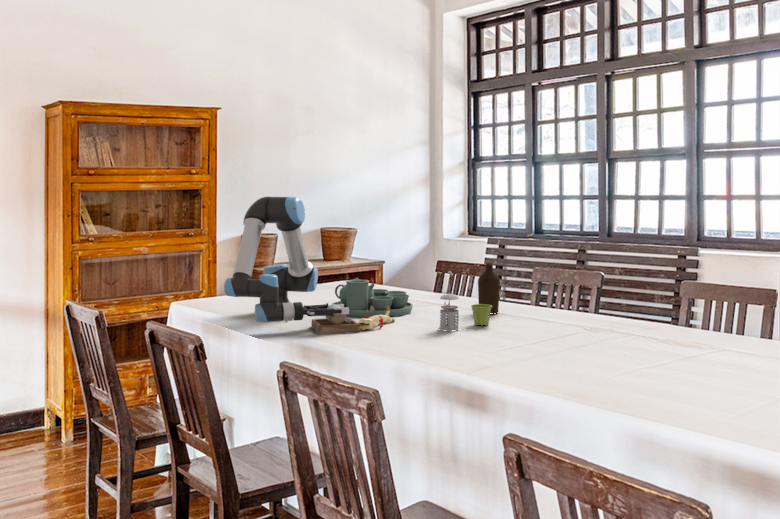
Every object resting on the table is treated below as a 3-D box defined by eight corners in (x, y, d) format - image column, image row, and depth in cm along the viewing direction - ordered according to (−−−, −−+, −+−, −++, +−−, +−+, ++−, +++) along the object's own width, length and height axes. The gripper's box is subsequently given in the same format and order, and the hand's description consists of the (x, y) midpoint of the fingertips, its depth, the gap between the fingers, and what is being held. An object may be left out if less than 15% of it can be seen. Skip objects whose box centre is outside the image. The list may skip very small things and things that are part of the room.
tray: (311, 326, 297) (311, 319, 296) (349, 324, 302) (349, 317, 301) (319, 334, 280) (319, 326, 280) (359, 332, 286) (359, 324, 285)
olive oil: (502, 314, 330) (503, 262, 328) (481, 315, 328) (481, 263, 326) (495, 311, 340) (496, 260, 338) (474, 311, 339) (475, 261, 337)
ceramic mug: (329, 325, 286) (329, 307, 285) (324, 322, 294) (325, 304, 293) (354, 324, 289) (354, 306, 289) (348, 321, 297) (348, 303, 296)
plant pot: (466, 325, 302) (466, 305, 302) (478, 322, 309) (479, 303, 309) (483, 327, 296) (484, 307, 295) (496, 325, 303) (496, 305, 302)
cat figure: (379, 324, 312) (351, 328, 290) (380, 304, 312) (352, 308, 290) (398, 326, 307) (372, 331, 285) (399, 306, 307) (373, 310, 285)
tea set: (414, 318, 320) (415, 283, 319) (328, 318, 319) (328, 283, 318) (410, 305, 360) (410, 274, 358) (334, 305, 359) (334, 273, 357)
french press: (463, 328, 295) (463, 270, 293) (456, 333, 285) (457, 273, 282) (440, 326, 299) (441, 269, 296) (433, 331, 288) (434, 272, 286)
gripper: (288, 316, 295) (340, 313, 302) (297, 324, 275) (352, 322, 282) (288, 299, 294) (340, 296, 301) (297, 306, 275) (352, 303, 281)
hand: (346, 309), depth 292 cm, fingers closed on ceramic mug, 8 cm apart
